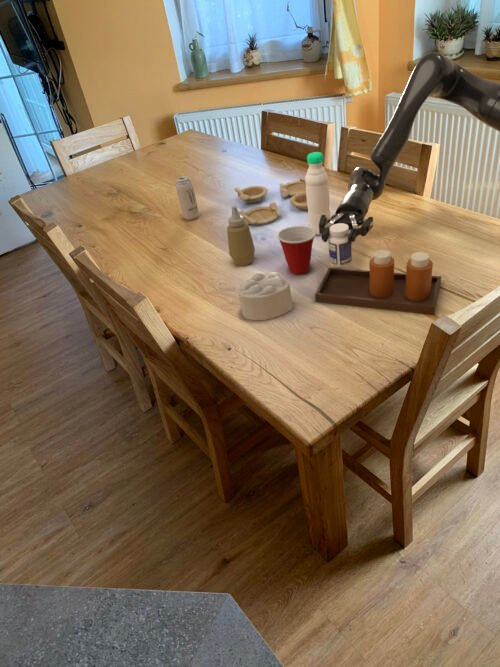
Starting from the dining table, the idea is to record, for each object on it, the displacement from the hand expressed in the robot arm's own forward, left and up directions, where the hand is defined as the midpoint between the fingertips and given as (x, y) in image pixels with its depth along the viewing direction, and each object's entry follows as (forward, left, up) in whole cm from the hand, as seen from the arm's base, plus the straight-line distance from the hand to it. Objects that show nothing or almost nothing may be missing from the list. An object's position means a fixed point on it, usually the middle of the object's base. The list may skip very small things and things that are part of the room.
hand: (336, 239), depth 122 cm
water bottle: (+15, -34, -16) cm, 41 cm away
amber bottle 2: (-20, -2, -16) cm, 25 cm away
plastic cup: (+14, -10, -16) cm, 24 cm away
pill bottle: (0, -3, -8) cm, 9 cm away
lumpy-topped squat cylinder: (+17, +10, -16) cm, 26 cm away
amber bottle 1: (-11, -2, -16) cm, 19 cm away
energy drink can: (+66, -39, -16) cm, 79 cm away
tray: (-10, -2, -16) cm, 19 cm away
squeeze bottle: (+33, -12, -16) cm, 39 cm away
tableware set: (+36, -53, -16) cm, 67 cm away
